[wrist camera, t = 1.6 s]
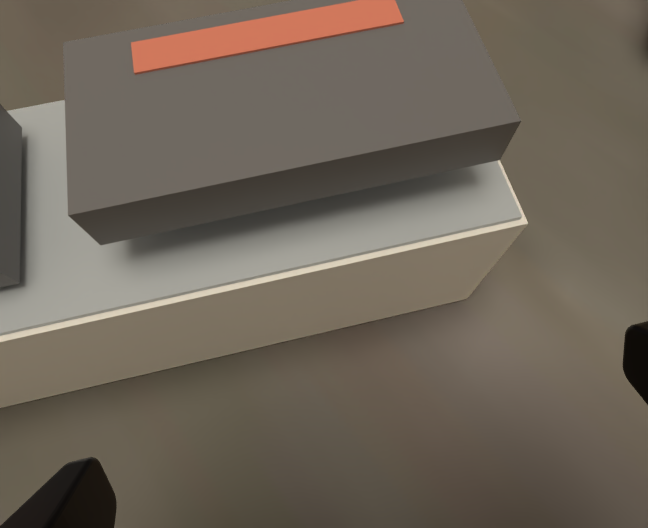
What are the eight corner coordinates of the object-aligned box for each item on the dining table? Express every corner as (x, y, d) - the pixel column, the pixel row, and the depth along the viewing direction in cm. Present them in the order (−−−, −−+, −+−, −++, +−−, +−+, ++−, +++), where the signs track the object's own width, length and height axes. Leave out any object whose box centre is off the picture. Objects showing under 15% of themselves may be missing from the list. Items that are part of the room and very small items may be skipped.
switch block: (466, 298, 23) (530, 220, 15) (-167, 447, 21) (-443, 439, 13) (411, 147, 26) (441, 23, 19) (-138, 262, 24) (-346, 174, 17)
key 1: (499, 160, 14) (522, 118, 13) (100, 245, 14) (66, 214, 12) (436, 20, 17) (448, -31, 15) (91, 86, 16) (61, 40, 14)
